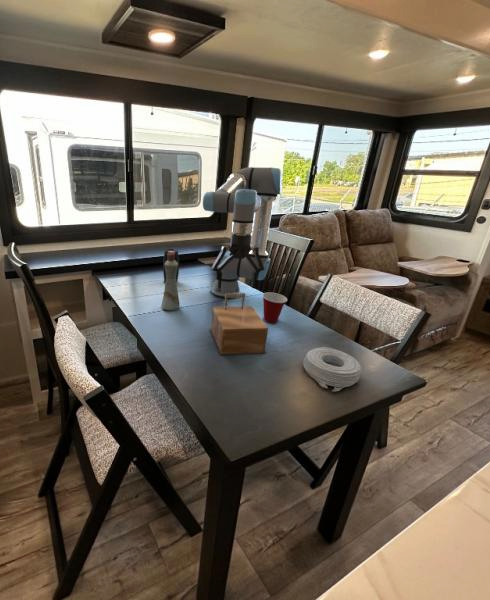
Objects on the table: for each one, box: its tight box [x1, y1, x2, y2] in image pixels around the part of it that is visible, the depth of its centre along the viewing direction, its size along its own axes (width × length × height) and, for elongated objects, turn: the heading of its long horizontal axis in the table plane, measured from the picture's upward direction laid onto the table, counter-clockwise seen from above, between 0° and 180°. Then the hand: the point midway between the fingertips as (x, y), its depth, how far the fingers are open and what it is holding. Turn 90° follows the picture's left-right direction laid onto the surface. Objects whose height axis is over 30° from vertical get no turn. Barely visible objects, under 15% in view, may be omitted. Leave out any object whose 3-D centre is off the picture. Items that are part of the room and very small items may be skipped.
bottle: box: [161, 252, 180, 312], centre depth 147 cm, size 9×9×28 cm
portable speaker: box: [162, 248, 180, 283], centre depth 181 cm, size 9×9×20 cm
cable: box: [302, 346, 362, 393], centre depth 104 cm, size 18×18×6 cm
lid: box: [212, 292, 269, 331], centre depth 119 cm, size 19×17×8 cm
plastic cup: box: [261, 291, 288, 324], centre depth 139 cm, size 11×11×12 cm
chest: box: [210, 309, 269, 355], centre depth 122 cm, size 19×17×10 cm
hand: (235, 287), depth 123 cm, fingers open, 13 cm apart
